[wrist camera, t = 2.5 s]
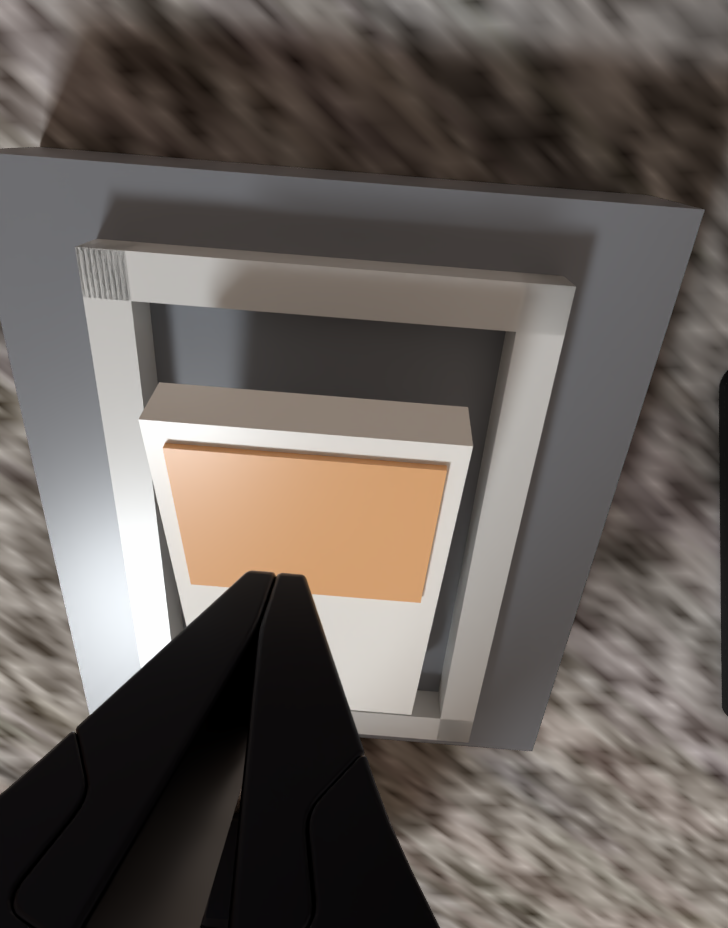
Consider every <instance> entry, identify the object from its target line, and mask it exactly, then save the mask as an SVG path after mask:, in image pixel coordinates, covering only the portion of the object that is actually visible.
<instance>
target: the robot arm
mask: <svg viewBox="0 0 728 928" xmlns="http://www.w3.org/2000/svg"><path fill="white" fill-rule="evenodd" d="M76 733H77V734H76ZM76 733H75V732H71V733H69V734H68V735H67V736H66V737H65V738H64V739H63V740H62V741H61V742H60V743H59V744H57V745H56V746H55V747H54V748H53V749H52V750H51V751H50V752H49V753H48V754H46V755H45V756H44V757H43V758H42V759H41V760H40V761H38V762H37V763H36V764H35V765H34V766H33V767H32V768H30V769H29V770H28V771H27V772H26V773H25V774H24V775H22V776H21V777H20V778H19V779H18V780H17V781H16V782H14V783H13V784H12V785H11V786H10V787H9V788H8V789H6V790H5V791H4V792H3V793H1V794H0V928H440V927H439V925H438V923H437V921H436V919H435V917H434V915H433V913H432V911H431V909H430V907H429V904H428V902H427V900H426V898H425V896H424V894H423V892H422V890H421V888H420V886H419V884H418V882H417V880H416V878H415V876H414V874H413V872H412V870H411V868H410V866H409V863H408V861H407V859H406V857H405V855H404V852H403V850H402V848H401V846H400V843H399V841H398V839H397V837H396V835H395V832H394V830H393V828H392V826H391V823H390V821H389V818H388V816H387V813H386V810H385V808H384V805H383V802H382V800H381V797H380V794H379V792H378V789H377V786H376V784H375V781H374V778H373V775H372V772H371V769H370V766H369V763H368V760H367V758H366V757H365V756H364V749H363V746H362V743H361V740H360V737H359V734H358V731H357V728H356V725H355V722H354V719H353V716H352V713H351V710H350V707H349V704H348V701H347V698H346V695H345V692H344V689H343V686H342V683H341V680H340V677H339V674H338V671H337V668H336V665H335V662H334V659H333V656H332V653H331V650H330V647H329V644H328V641H327V638H326V635H325V632H324V629H323V626H322V623H321V620H320V617H319V614H318V611H317V608H316V605H315V602H314V599H313V597H312V594H311V591H310V588H309V585H308V582H307V579H306V577H305V576H304V575H302V574H291V573H279V574H278V575H277V576H276V575H275V573H273V572H267V571H255V570H251V571H248V572H246V573H245V574H244V575H242V576H241V577H240V578H239V579H238V580H237V581H236V582H235V583H234V584H233V585H232V586H230V587H229V588H228V589H227V590H226V591H225V592H224V593H223V594H222V595H221V596H220V597H218V598H217V599H216V600H215V601H214V602H213V603H212V604H211V605H210V606H209V607H208V608H206V609H205V610H204V611H203V612H202V613H201V614H200V615H199V616H198V617H197V618H195V619H194V620H193V621H192V622H191V623H190V624H189V625H188V626H187V627H186V628H185V629H183V630H182V631H181V632H180V633H179V634H178V635H177V636H176V637H175V638H174V639H173V640H171V641H170V642H169V643H168V644H167V645H166V646H165V647H164V648H163V649H162V650H161V651H159V652H158V653H157V654H156V655H155V656H154V657H153V658H152V659H151V660H150V661H148V662H147V663H146V664H145V665H144V666H143V667H142V668H141V669H140V670H139V671H138V672H136V673H135V674H134V675H133V676H132V677H131V678H130V679H129V680H128V681H127V682H126V683H124V684H123V685H122V686H121V687H120V688H119V689H118V690H117V691H116V692H115V693H114V694H112V695H111V696H110V697H109V698H108V699H107V700H106V701H105V702H104V703H103V704H102V705H100V706H99V707H98V708H97V709H96V710H95V711H94V712H93V713H92V714H91V715H89V716H88V717H87V718H86V719H85V720H84V721H83V722H82V723H81V724H80V725H79V726H77V728H76ZM241 787H242V791H241V801H240V811H239V814H238V813H234V810H235V807H236V804H237V800H238V797H239V794H240V790H241Z"/></svg>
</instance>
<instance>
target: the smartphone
mask: <svg viewBox="0 0 728 928" xmlns="http://www.w3.org/2000/svg"><path fill="white" fill-rule="evenodd" d="M719 449H720V558H721V662H722V708H723V711H724V712H725V713H726V715H727V716H728V371H727V372H726V373H725V374H724V376H723V378H722V380H721V382H720V386H719ZM724 452H725V456H724ZM725 646H726V649H725Z"/></svg>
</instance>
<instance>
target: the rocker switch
mask: <svg viewBox="0 0 728 928" xmlns="http://www.w3.org/2000/svg"><path fill="white" fill-rule="evenodd" d="M138 420H139V424H140V429H141V433H142V437H143V442H144V446H145V450H146V454H147V459H148V463H149V467H150V472H151V476H152V480H153V485H154V489H155V493H156V497H157V502H158V506H159V510H160V515H161V519H162V523H163V528H164V532H165V536H166V540H167V545H168V549H169V553H170V558H171V562H172V566H173V570H174V575H175V579H176V583H177V588H178V592H179V596H180V601H181V605H182V609H183V613H184V618H185V622H186V626H188V625H189V624H190V623H191V622H192V621H193V620H194V619H195V618H197V617H198V616H199V615H200V614H201V613H202V612H203V611H204V610H205V609H206V608H208V607H209V606H210V605H211V604H212V603H213V602H214V601H215V600H216V599H217V598H218V597H220V596H221V595H222V594H223V593H224V592H225V591H226V590H227V589H228V588H229V587H230V586H232V585H233V584H234V583H235V582H236V581H237V580H238V579H239V578H240V577H241V576H242V575H244V574H245V573H246V572H248V571H251V570H255V571H267V572H273V573H275V575H276V576H277V575H278V574H279V573H291V574H302V575H304V576H305V577H306V579H307V582H308V585H309V588H310V591H311V594H312V597H313V599H314V602H315V605H316V608H317V611H318V614H319V617H320V620H321V623H322V626H323V629H324V632H325V635H326V638H327V641H328V644H329V647H330V650H331V653H332V656H333V659H334V662H335V665H336V668H337V671H338V674H339V677H340V680H341V683H342V686H343V689H344V692H345V695H346V698H347V701H348V704H349V707H350V710H358V711H370V712H383V713H395V714H407V715H411V714H412V710H413V705H414V701H415V697H416V692H417V688H418V683H419V679H420V675H421V670H422V666H423V662H424V657H425V653H426V649H427V644H428V640H429V636H430V631H431V627H432V623H433V618H434V614H435V610H436V605H437V601H438V597H439V592H440V588H441V584H442V579H443V575H444V571H445V566H446V562H447V558H448V553H449V549H450V545H451V540H452V536H453V532H454V527H455V523H456V519H457V514H458V510H459V506H460V501H461V497H462V493H463V488H464V484H465V479H466V475H467V471H468V466H469V462H470V458H471V453H472V449H473V441H472V434H471V426H470V418H469V410H468V407H461V406H448V405H436V404H423V403H411V402H398V401H386V400H373V399H361V398H349V397H336V396H324V395H311V394H299V393H286V392H274V391H261V390H249V389H236V388H224V387H212V386H199V385H187V384H174V383H162V382H159V383H158V385H157V387H156V389H155V391H154V392H153V394H152V396H151V398H150V400H149V401H148V403H147V405H146V407H145V408H144V410H143V412H142V414H141V416H140V417H139V419H138Z"/></svg>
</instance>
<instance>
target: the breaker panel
mask: <svg viewBox="0 0 728 928" xmlns="http://www.w3.org/2000/svg"><path fill="white" fill-rule="evenodd" d="M704 211H705V210H704V209H701V208H697V207H693V206H689V205H685V204H681V203H677V202H673V201H669V200H665V199H662V198H658V197H654V196H650V195H638V194H626V193H613V192H600V191H588V190H575V189H563V188H550V187H537V186H525V185H512V184H500V183H487V182H474V181H462V180H449V179H437V178H424V177H411V176H399V175H386V174H374V173H361V172H348V171H336V170H323V169H311V168H298V167H286V166H273V165H260V164H248V163H235V162H223V161H210V160H197V159H185V158H172V157H160V156H147V155H134V154H122V153H109V152H97V151H84V150H71V149H59V148H46V147H26V148H5V149H0V320H1V324H2V329H3V333H4V338H5V342H6V347H7V351H8V355H9V360H10V364H11V369H12V373H13V378H14V382H15V386H16V391H17V395H18V400H19V404H20V409H21V413H22V417H23V422H24V426H25V431H26V435H27V439H28V444H29V448H30V453H31V457H32V462H33V466H34V470H35V475H36V479H37V484H38V488H39V493H40V497H41V501H42V506H43V510H44V515H45V519H46V524H47V528H48V532H49V537H50V541H51V546H52V550H53V555H54V559H55V563H56V568H57V572H58V577H59V581H60V586H61V590H62V594H63V599H64V603H65V608H66V612H67V617H68V621H69V625H70V630H71V634H72V639H73V643H74V647H75V652H76V656H77V661H78V665H79V670H80V674H81V678H82V683H83V687H84V692H85V696H86V701H87V705H88V709H89V714H90V715H91V714H92V713H93V712H94V711H95V710H96V709H97V708H98V707H99V706H100V705H102V704H103V703H104V702H105V701H106V700H107V699H108V698H109V697H110V696H111V695H112V694H114V693H115V692H116V691H117V690H118V689H119V688H120V687H121V686H122V685H123V684H124V683H126V682H127V681H128V680H129V679H130V678H131V677H132V676H133V675H134V674H135V673H136V672H138V671H139V670H140V669H141V668H142V667H143V666H144V665H145V664H146V663H147V662H148V661H150V660H151V659H152V658H153V657H154V656H155V655H156V654H157V653H158V652H159V651H161V650H162V649H163V648H164V647H165V646H166V645H167V644H168V643H169V642H170V641H171V640H173V639H174V638H175V637H176V636H177V635H178V634H179V633H180V632H181V631H182V630H183V629H185V628H186V627H187V626H186V622H185V618H184V613H183V609H182V605H181V601H180V596H179V592H178V588H177V583H176V579H175V575H174V570H173V566H172V562H171V558H170V553H169V549H168V545H167V540H166V536H165V532H164V528H163V523H162V519H161V515H160V510H159V506H158V502H157V497H156V493H155V489H154V485H153V480H152V476H151V472H150V467H149V463H148V459H147V454H146V450H145V446H144V442H143V437H142V433H141V429H140V424H139V420H138V419H139V417H140V416H141V414H142V412H143V410H144V408H145V407H146V405H147V403H148V401H149V400H150V398H151V396H152V394H153V392H154V391H155V389H156V387H157V385H158V383H159V382H162V383H174V384H187V385H199V386H212V387H224V388H236V389H249V390H261V391H274V392H286V393H299V394H311V395H324V396H336V397H349V398H361V399H373V400H386V401H398V402H411V403H423V404H436V405H448V406H461V407H468V410H469V418H470V426H471V434H472V441H473V449H472V453H471V458H470V462H469V466H468V471H467V475H466V479H465V484H464V488H463V493H462V497H461V501H460V506H459V510H458V514H457V519H456V523H455V527H454V532H453V536H452V540H451V545H450V549H449V553H448V558H447V562H446V566H445V571H444V575H443V579H442V584H441V588H440V592H439V597H438V601H437V605H436V610H435V614H434V618H433V623H432V627H431V631H430V636H429V640H428V644H427V649H426V653H425V657H424V662H423V666H422V670H421V675H420V679H419V683H418V688H417V692H416V697H415V701H414V705H413V710H412V714H411V715H407V714H395V713H383V712H370V711H358V710H351V713H352V716H353V719H354V722H355V725H356V728H357V731H358V734H359V737H363V738H375V739H387V740H399V741H412V742H424V743H436V744H448V745H461V746H473V747H485V748H497V749H510V750H522V751H532V750H533V747H534V744H535V741H536V738H537V735H538V732H539V728H540V725H541V722H542V719H543V716H544V713H545V710H546V706H547V703H548V700H549V697H550V694H551V691H552V688H553V684H554V681H555V678H556V675H557V672H558V669H559V666H560V663H561V659H562V656H563V653H564V650H565V647H566V644H567V641H568V637H569V634H570V631H571V628H572V625H573V622H574V619H575V615H576V612H577V609H578V606H579V603H580V600H581V597H582V593H583V590H584V587H585V584H586V581H587V578H588V575H589V572H590V568H591V565H592V562H593V559H594V556H595V553H596V550H597V546H598V543H599V540H600V537H601V534H602V531H603V528H604V524H605V521H606V518H607V515H608V512H609V509H610V506H611V503H612V499H613V496H614V493H615V490H616V487H617V484H618V481H619V477H620V474H621V471H622V468H623V465H624V462H625V459H626V455H627V452H628V449H629V446H630V443H631V440H632V437H633V434H634V430H635V427H636V424H637V421H638V418H639V415H640V412H641V408H642V405H643V402H644V399H645V396H646V393H647V390H648V386H649V383H650V380H651V377H652V374H653V371H654V368H655V364H656V361H657V358H658V355H659V352H660V349H661V346H662V343H663V339H664V336H665V333H666V330H667V327H668V324H669V321H670V317H671V314H672V311H673V308H674V305H675V302H676V299H677V295H678V292H679V289H680V286H681V283H682V280H683V277H684V274H685V270H686V267H687V264H688V261H689V258H690V255H691V252H692V248H693V245H694V242H695V239H696V236H697V233H698V230H699V226H700V223H701V220H702V217H703V214H704Z"/></svg>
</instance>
